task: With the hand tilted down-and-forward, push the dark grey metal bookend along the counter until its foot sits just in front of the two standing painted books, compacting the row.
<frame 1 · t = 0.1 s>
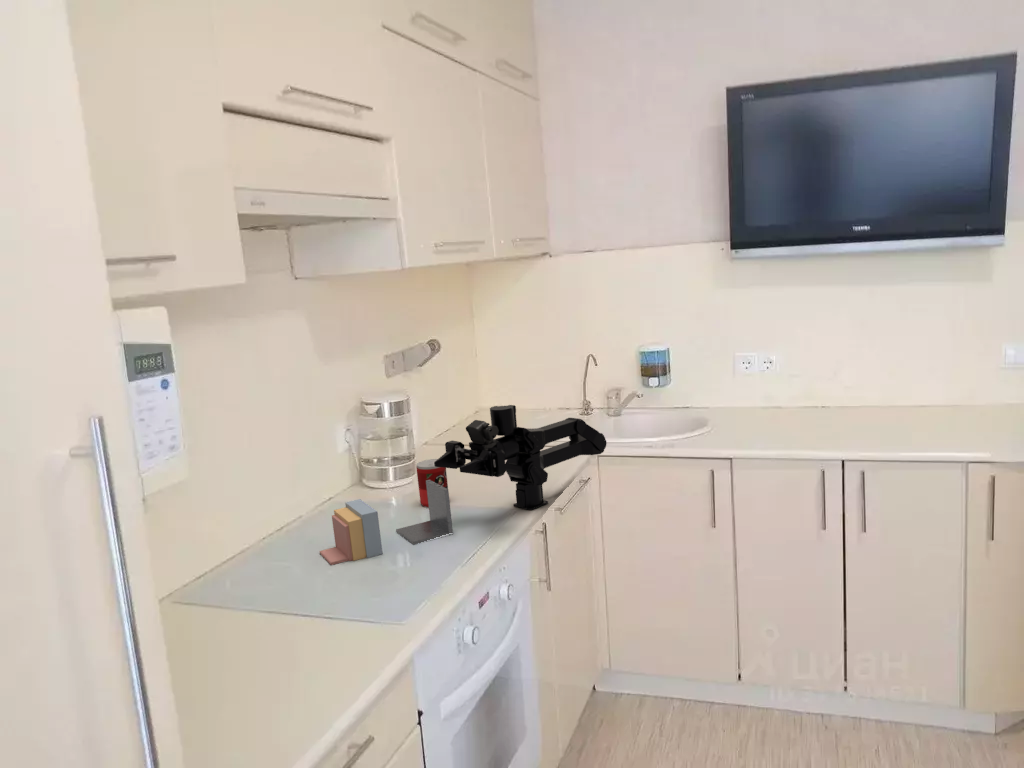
hand: (447, 467, 190), 17 cm above the cooktop, tool horizontal, fingers open, 9 cm apart
book row: (373, 546, 190), on the cooktop
canned food: (435, 503, 219), on the cooktop
bookend: (441, 528, 198), on the cooktop
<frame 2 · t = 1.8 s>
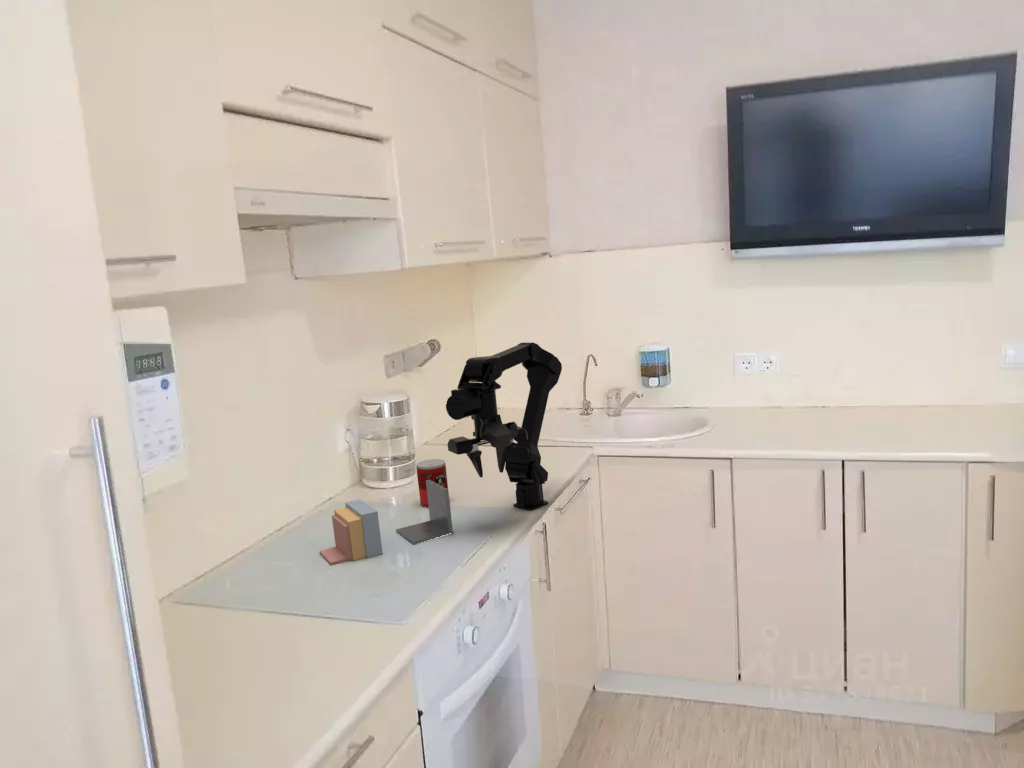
hand: (491, 474, 197), 12 cm above the cooktop, tool pointing down, fingers open, 5 cm apart
nothing on the cooktop moved.
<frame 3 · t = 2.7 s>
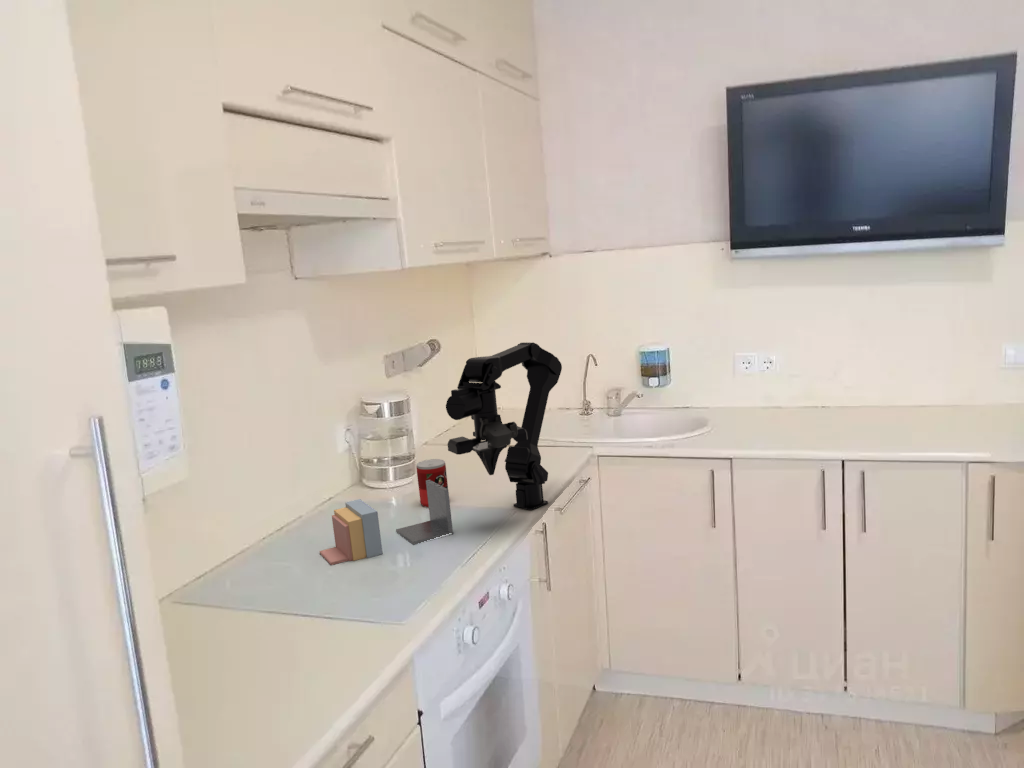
hand: (491, 474, 197), 12 cm above the cooktop, tool pointing down, fingers closed
nothing on the cooktop moved.
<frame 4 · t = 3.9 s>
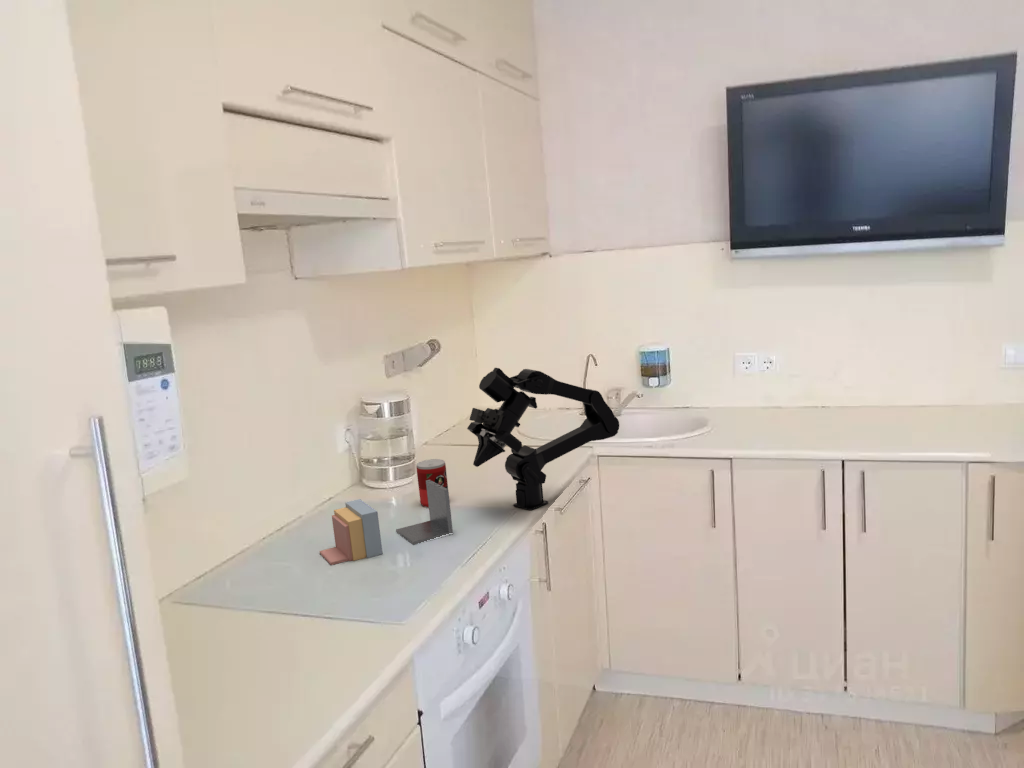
hand: (475, 465, 201), 13 cm above the cooktop, tool tilted 45°, fingers closed
nothing on the cooktop moved.
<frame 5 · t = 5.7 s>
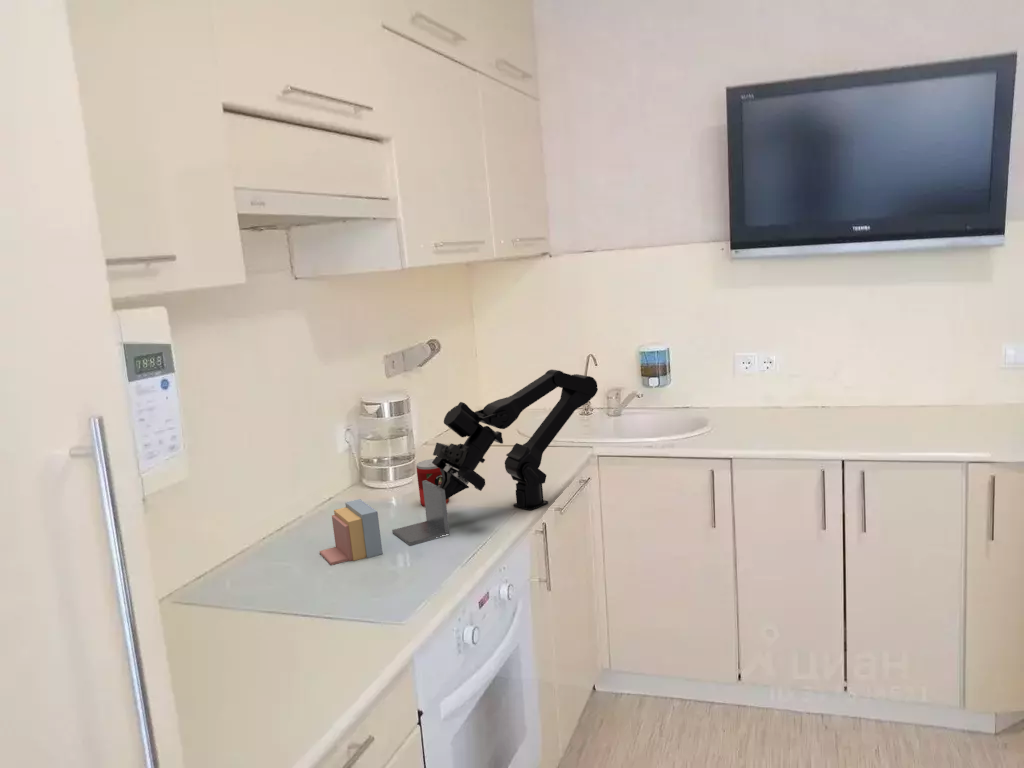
hand: (438, 501, 197), 7 cm above the cooktop, tool tilted 45°, fingers closed
bookend: (438, 529, 198), on the cooktop
everything else where it was.
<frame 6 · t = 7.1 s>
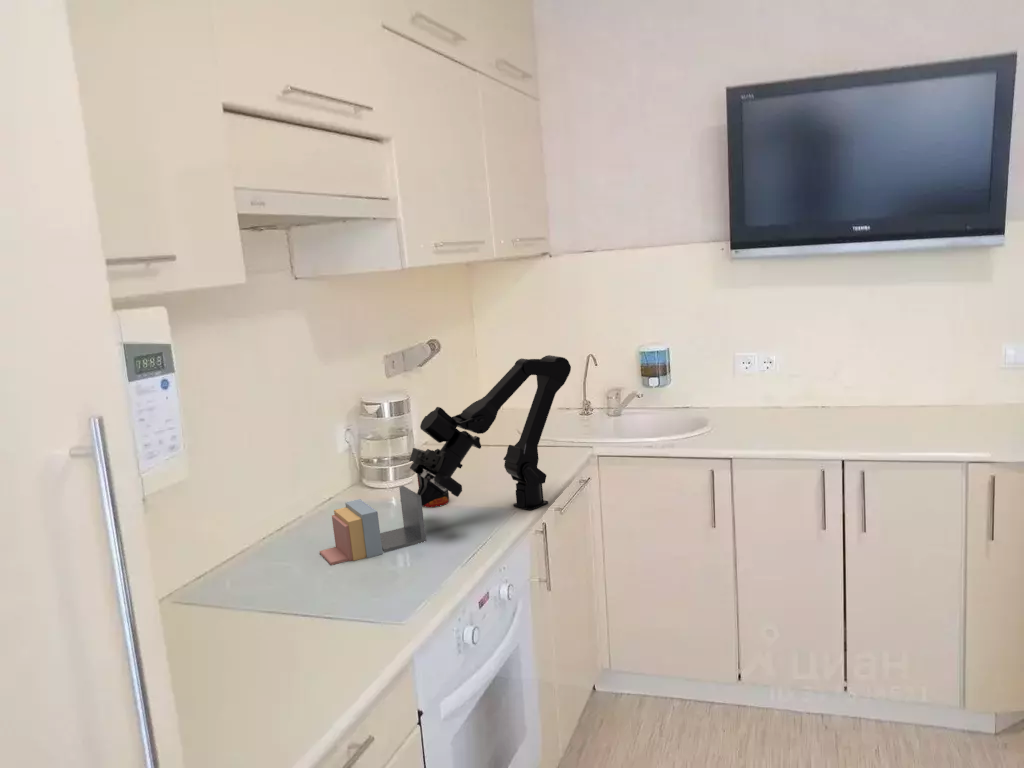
hand: (414, 508, 194), 7 cm above the cooktop, tool tilted 45°, fingers closed
bookend: (414, 535, 195), on the cooktop, touching gripper
everything else where it was.
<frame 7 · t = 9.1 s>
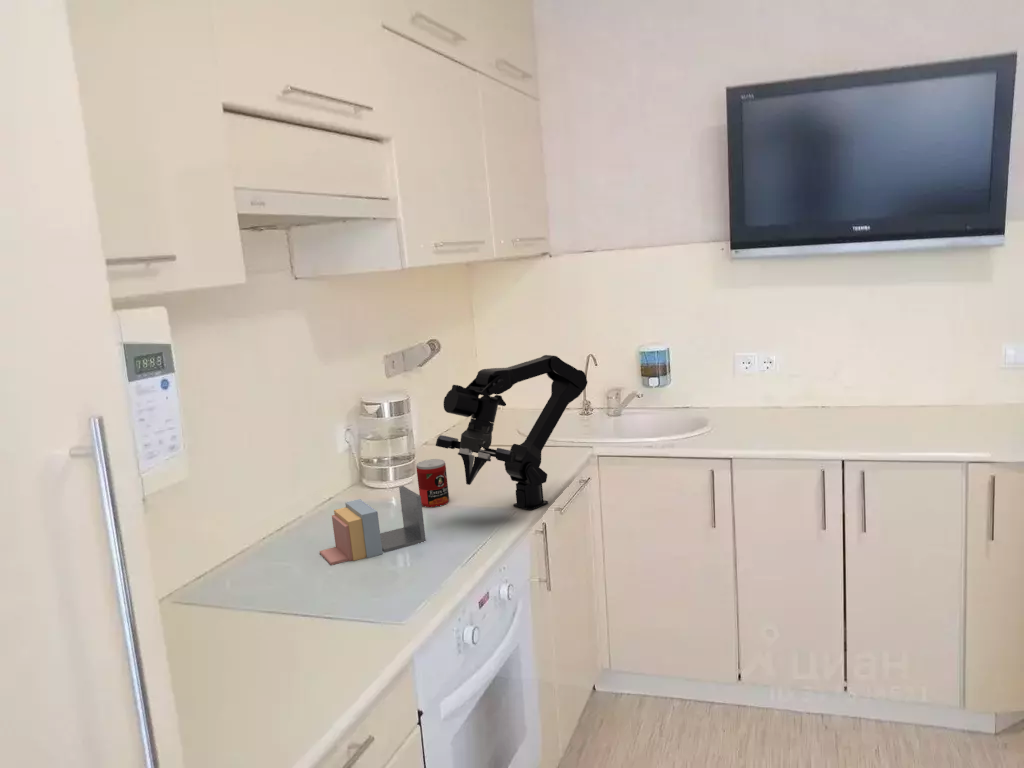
hand: (468, 484, 198), 10 cm above the cooktop, tool tilted 20°, fingers closed
bookend: (414, 536, 195), on the cooktop
everything else where it was.
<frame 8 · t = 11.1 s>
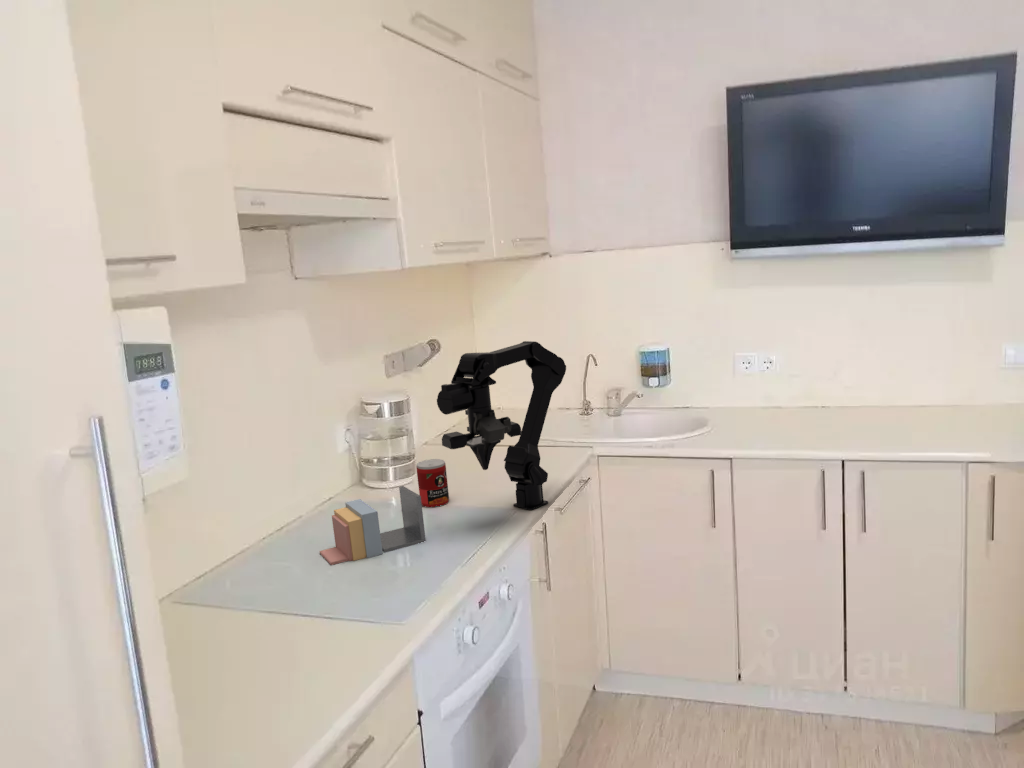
hand: (485, 469, 198), 13 cm above the cooktop, tool pointing down, fingers closed
nothing on the cooktop moved.
at the end: bookend inside the target area on the book row (0.2 cm from its centre), point 0.0 cm above the book row's base; bookend moved 6.9 cm from its start; bookend tilted 0° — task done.
